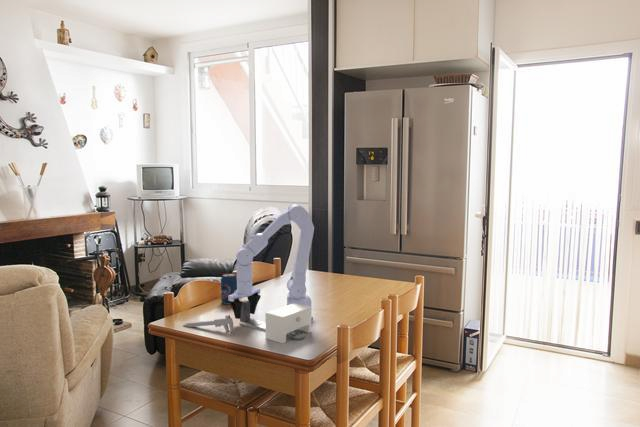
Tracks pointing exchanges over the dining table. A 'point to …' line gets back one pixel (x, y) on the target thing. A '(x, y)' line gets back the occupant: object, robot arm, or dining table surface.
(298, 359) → the dining table surface
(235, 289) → the soda can
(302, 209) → the robot arm
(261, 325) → the grey piece
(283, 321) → the cabinet
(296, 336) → the token
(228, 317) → the caliper
